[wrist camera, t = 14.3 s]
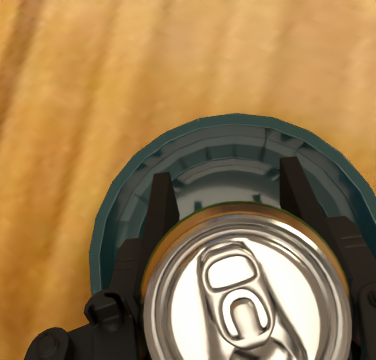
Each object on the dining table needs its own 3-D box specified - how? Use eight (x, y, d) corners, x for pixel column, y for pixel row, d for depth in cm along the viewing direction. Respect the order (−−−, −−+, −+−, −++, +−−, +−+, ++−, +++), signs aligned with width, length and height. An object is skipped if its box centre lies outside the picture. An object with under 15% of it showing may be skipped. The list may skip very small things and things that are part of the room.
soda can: (206, 319, 18) (166, 483, 7) (178, 232, 19) (98, 238, 7) (294, 291, 18) (417, 412, 6) (261, 203, 19) (315, 164, 7)
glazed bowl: (126, 386, 23) (98, 432, 18) (110, 152, 26) (81, 134, 21) (380, 373, 22) (427, 419, 16) (335, 122, 24) (364, 94, 19)
